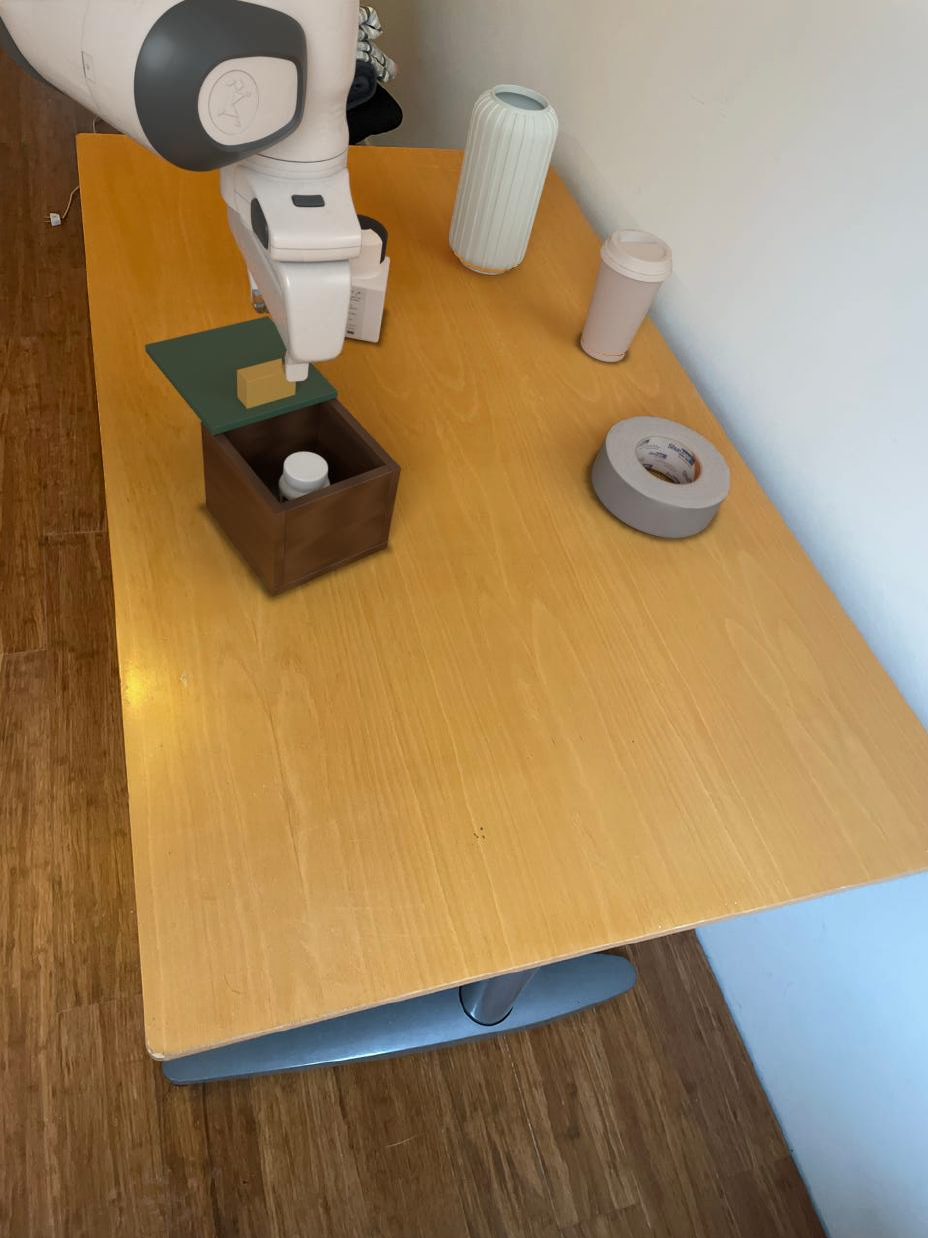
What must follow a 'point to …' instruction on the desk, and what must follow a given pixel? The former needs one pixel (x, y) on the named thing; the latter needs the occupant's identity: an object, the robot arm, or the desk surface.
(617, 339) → the coffee cup
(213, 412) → the lid
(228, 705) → the desk surface
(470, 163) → the vase
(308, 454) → the pill bottle
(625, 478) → the tape roll
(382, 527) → the box
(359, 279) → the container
